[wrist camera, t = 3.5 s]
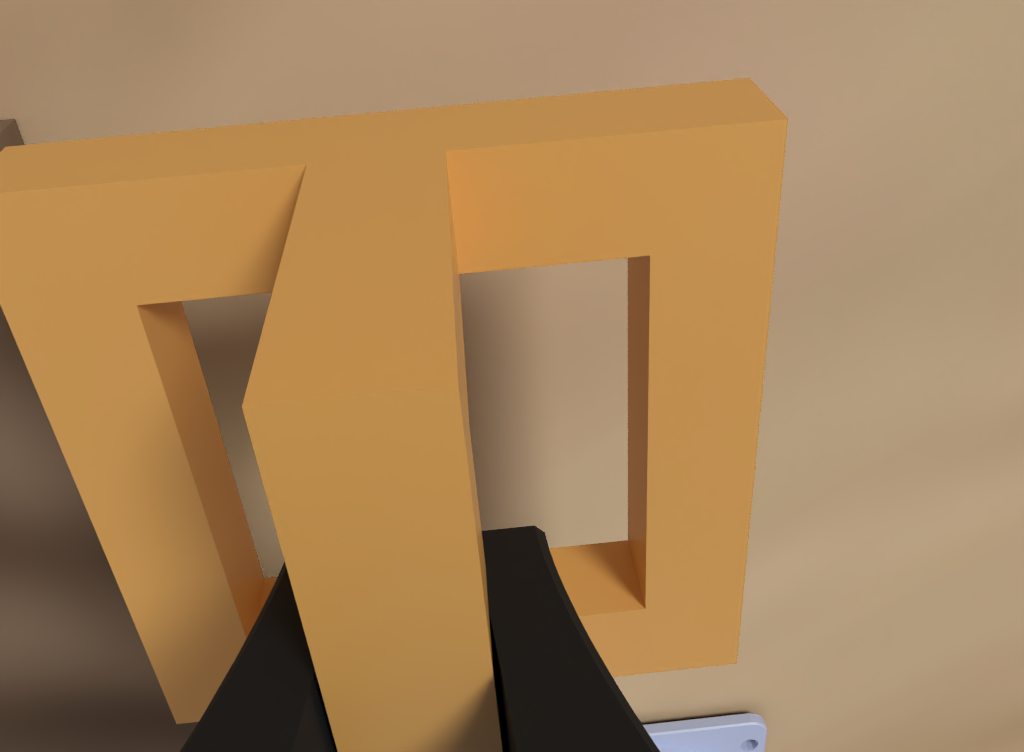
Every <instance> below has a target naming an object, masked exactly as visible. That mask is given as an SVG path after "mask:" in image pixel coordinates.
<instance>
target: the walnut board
mask: <svg viewBox="0 0 1024 752" xmlns="http://www.w3.org/2000/svg"><path fill="white" fill-rule="evenodd" d="M20 145H24V143H23V140H22V137H21V134H20V132H19V129H18V126H17V123H16V121H15V119H9V120H0V152H1V151H2V150H3V149H4V148H5V147H9V146H20ZM197 724H198V722H191V723H182V724H176V721H175V719H174V717H173V714H172V712H171V710H170V707H169V705H168V702H167V700H166V698H165V695H164V693H163V691H162V688H161V686H160V683H159V681H158V679H157V676H156V674H155V671H154V669H153V667H152V664H151V662H150V660H149V657H148V655H147V652H146V650H145V648H144V645H143V643H142V641H141V638H140V636H139V633H138V631H137V629H136V626H135V624H134V622H133V619H132V617H131V614H130V612H129V610H128V607H127V605H126V602H125V600H124V598H123V595H122V593H121V591H120V588H119V586H118V583H117V581H116V579H115V576H114V574H113V572H112V569H111V567H110V564H109V562H108V560H107V557H106V555H105V553H104V550H103V548H102V545H101V543H100V541H99V538H98V536H97V533H96V531H95V529H94V526H93V524H92V522H91V519H90V517H89V514H88V512H87V510H86V507H85V505H84V503H83V500H82V498H81V495H80V493H79V491H78V488H77V486H76V484H75V481H74V479H73V476H72V474H71V472H70V469H69V467H68V464H67V462H66V460H65V457H64V455H63V453H62V450H61V448H60V445H59V443H58V441H57V438H56V436H55V434H54V431H53V429H52V426H51V424H50V422H49V419H48V417H47V415H46V412H45V410H44V407H43V405H42V403H41V400H40V398H39V395H38V393H37V391H36V388H35V386H34V384H33V381H32V379H31V376H30V374H29V372H28V369H27V367H26V365H25V362H24V360H23V357H22V355H21V353H20V350H19V348H18V346H17V343H16V341H15V338H14V336H13V334H12V331H11V329H10V326H9V324H8V322H7V319H6V317H5V315H4V312H3V310H2V307H1V305H0V752H180V750H181V749H182V747H183V746H184V744H185V743H186V741H187V740H188V738H189V737H190V735H191V733H192V732H193V730H194V729H195V727H196V726H197Z"/></svg>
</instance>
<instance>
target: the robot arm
mask: <svg viewBox="0 0 1024 752" xmlns="http://www.w3.org/2000/svg"><path fill="white" fill-rule="evenodd" d="M482 538H483V547H484V555H485V564H486V579H487V595H488V609H489V617H490V626H491V634H492V642H493V651H494V659H495V668H496V676H497V685H498V693H499V701H500V710H501V718H502V727H503V735H504V743H505V752H764V751H765V743H766V735H767V729H766V725H765V722H764V720H763V718H762V717H761V716H760V715H757V714H754V713H744V714H735V715H726V716H717V717H708V718H699V719H690V720H681V721H672V722H663V723H654V724H645V725H642V723H641V722H640V720H639V719H638V717H637V716H636V714H635V713H634V711H633V710H632V708H631V707H630V705H629V703H628V702H627V700H626V699H625V697H624V695H623V694H622V692H621V691H620V689H619V687H618V686H617V684H616V683H615V681H614V679H613V677H612V676H611V674H610V672H609V670H608V669H607V667H606V665H605V663H604V662H603V660H602V658H601V657H600V655H599V653H598V651H597V650H596V648H595V646H594V644H593V643H592V641H591V639H590V637H589V635H588V634H587V632H586V630H585V628H584V626H583V624H582V622H581V620H580V618H579V616H578V614H577V612H576V610H575V608H574V606H573V604H572V602H571V600H570V598H569V596H568V594H567V592H566V590H565V587H564V585H563V583H562V580H561V578H560V576H559V574H558V571H557V569H556V566H555V564H554V561H553V558H552V555H551V552H550V550H549V547H548V543H547V540H546V536H545V532H543V531H542V530H540V529H539V528H537V527H536V526H526V527H517V528H507V529H498V530H488V531H482ZM180 752H338V751H337V747H336V744H335V740H334V737H333V733H332V729H331V726H330V722H329V719H328V715H327V711H326V708H325V704H324V701H323V697H322V694H321V690H320V686H319V683H318V679H317V676H316V672H315V668H314V665H313V661H312V658H311V654H310V650H309V647H308V643H307V640H306V636H305V632H304V629H303V625H302V622H301V618H300V614H299V611H298V607H297V604H296V600H295V596H294V593H293V589H292V586H291V582H290V578H289V575H288V571H287V568H286V564H285V562H284V565H283V567H282V569H281V571H280V573H279V575H278V578H277V580H276V582H275V584H274V586H273V588H272V590H271V592H270V594H269V596H268V598H267V600H266V602H265V604H264V606H263V608H262V610H261V612H260V614H259V616H258V618H257V620H256V622H255V624H254V626H253V627H252V629H251V631H250V633H249V635H248V637H247V639H246V640H245V642H244V644H243V646H242V648H241V650H240V652H239V653H238V655H237V657H236V659H235V661H234V662H233V664H232V666H231V667H230V669H229V671H228V673H227V674H226V676H225V678H224V680H223V681H222V683H221V685H220V687H219V688H218V690H217V692H216V693H215V695H214V697H213V699H212V700H211V702H210V704H209V706H208V707H207V709H206V711H205V712H204V714H203V716H202V717H201V719H200V721H199V722H198V724H197V726H196V727H195V729H194V730H193V732H192V733H191V735H190V737H189V738H188V740H187V741H186V743H185V744H184V746H183V747H182V749H181V750H180Z"/></svg>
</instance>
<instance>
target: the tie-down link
mask: <svg viewBox="0 0 1024 752" xmlns="http://www.w3.org/2000/svg"><path fill="white" fill-rule="evenodd" d="M787 126H788V118H787V117H786V116H785V115H784V114H783V113H782V112H781V111H780V110H779V109H778V108H777V107H776V106H775V105H774V103H773V102H772V101H771V100H770V99H769V98H768V97H767V96H766V95H765V94H764V93H763V92H762V91H761V90H760V89H759V88H758V86H757V85H756V84H755V83H754V82H753V81H752V80H751V79H750V78H744V79H733V80H722V81H712V82H701V83H690V84H679V85H668V86H658V87H647V88H636V89H625V90H614V91H603V92H593V93H582V94H571V95H560V96H549V97H539V98H528V99H517V100H506V101H495V102H485V103H474V104H463V105H452V106H441V107H431V108H420V109H409V110H398V111H387V112H377V113H366V114H355V115H344V116H333V117H323V118H312V119H301V120H290V121H279V122H269V123H258V124H247V125H236V126H225V127H215V128H204V129H193V130H182V131H171V132H161V133H150V134H139V135H128V136H117V137H107V138H96V139H85V140H74V141H63V142H53V143H42V144H31V145H20V146H9V147H5V148H4V149H3V150H2V151H1V152H0V305H1V307H2V310H3V312H4V315H5V317H6V319H7V322H8V324H9V326H10V329H11V331H12V334H13V336H14V338H15V341H16V343H17V346H18V348H19V350H20V353H21V355H22V357H23V360H24V362H25V365H26V367H27V369H28V372H29V374H30V376H31V379H32V381H33V384H34V386H35V388H36V391H37V393H38V395H39V398H40V400H41V403H42V405H43V407H44V410H45V412H46V415H47V417H48V419H49V422H50V424H51V426H52V429H53V431H54V434H55V436H56V438H57V441H58V443H59V445H60V448H61V450H62V453H63V455H64V457H65V460H66V462H67V464H68V467H69V469H70V472H71V474H72V476H73V479H74V481H75V484H76V486H77V488H78V491H79V493H80V495H81V498H82V500H83V503H84V505H85V507H86V510H87V512H88V514H89V517H90V519H91V522H92V524H93V526H94V529H95V531H96V533H97V536H98V538H99V541H100V543H101V545H102V548H103V550H104V553H105V555H106V557H107V560H108V562H109V564H110V567H111V569H112V572H113V574H114V576H115V579H116V581H117V583H118V586H119V588H120V591H121V593H122V595H123V598H124V600H125V602H126V605H127V607H128V610H129V612H130V614H131V617H132V619H133V622H134V624H135V626H136V629H137V631H138V633H139V636H140V638H141V641H142V643H143V645H144V648H145V650H146V652H147V655H148V657H149V660H150V662H151V664H152V667H153V669H154V671H155V674H156V676H157V679H158V681H159V683H160V686H161V688H162V691H163V693H164V695H165V698H166V700H167V702H168V705H169V707H170V710H171V712H172V714H173V717H174V719H175V721H176V724H182V723H191V722H199V721H200V719H201V717H202V716H203V714H204V712H205V711H206V709H207V707H208V706H209V704H210V702H211V700H212V699H213V697H214V695H215V693H216V692H217V690H218V688H219V687H220V685H221V683H222V681H223V680H224V678H225V676H226V674H227V673H228V671H229V669H230V667H231V666H232V664H233V662H234V661H235V659H236V657H237V655H238V653H239V652H240V650H241V648H242V646H243V644H244V642H245V640H246V639H247V637H248V635H249V633H250V631H251V629H252V627H253V626H254V624H255V622H256V620H257V618H258V616H259V614H260V612H261V610H262V608H263V606H264V604H265V602H266V600H267V598H268V596H269V594H270V592H271V590H272V588H273V586H274V584H275V582H276V580H277V578H278V577H273V578H264V577H263V573H262V570H261V567H260V563H259V560H258V557H257V553H256V550H255V547H254V543H253V540H252V537H251V533H250V530H249V526H248V523H247V520H246V516H245V513H244V510H243V506H242V503H241V500H240V496H239V493H238V490H237V486H236V483H235V480H234V476H233V473H232V470H231V466H230V463H229V460H228V456H227V453H226V449H225V446H224V443H223V439H222V436H221V433H220V429H219V426H218V423H217V419H216V416H215V413H214V409H213V406H212V403H211V399H210V396H209V393H208V389H207V386H206V383H205V379H204V376H203V373H202V369H201V366H200V362H199V359H198V356H197V352H196V349H195V346H194V342H193V339H192V336H191V332H190V329H189V326H188V322H187V319H186V316H185V312H184V309H183V306H182V302H181V301H186V300H197V299H207V298H217V297H228V296H238V295H248V294H258V293H269V292H272V296H271V300H270V303H269V307H268V311H267V314H266V318H265V322H264V326H263V329H262V333H261V337H260V341H259V344H258V348H257V352H256V356H255V359H254V363H253V367H252V371H251V374H250V378H249V382H248V386H247V389H246V393H245V397H244V400H243V404H242V409H243V413H244V416H245V420H246V424H247V427H248V431H249V434H250V438H251V442H252V445H253V449H254V452H255V456H256V460H257V463H258V467H259V470H260V474H261V478H262V481H263V485H264V488H265V492H266V496H267V499H268V503H269V506H270V510H271V514H272V517H273V521H274V524H275V528H276V532H277V535H278V539H279V542H280V546H281V550H282V553H283V557H284V560H285V564H286V568H287V571H288V575H289V578H290V582H291V586H292V589H293V593H294V596H295V600H296V604H297V607H298V611H299V614H300V618H301V622H302V625H303V629H304V632H305V636H306V640H307V643H308V647H309V650H310V654H311V658H312V661H313V665H314V668H315V672H316V676H317V679H318V683H319V686H320V690H321V694H322V697H323V701H324V704H325V708H326V711H327V715H328V719H329V722H330V726H331V729H332V733H333V737H334V740H335V744H336V747H337V751H338V752H505V743H504V735H503V727H502V718H501V710H500V701H499V693H498V685H497V676H496V668H495V659H494V651H493V642H492V634H491V626H490V617H489V609H488V595H487V579H486V564H485V555H484V547H483V538H482V530H481V521H480V512H479V504H478V495H477V487H476V478H475V470H474V461H473V452H472V444H471V435H470V426H469V411H468V396H467V381H466V366H465V352H464V337H463V322H462V307H461V292H460V278H459V274H464V273H475V272H485V271H495V270H506V269H516V268H526V267H537V266H547V265H557V264H567V263H578V262H588V261H598V260H609V259H619V258H628V540H627V541H617V542H608V543H598V544H588V545H579V546H569V547H560V548H550V549H549V550H550V552H551V555H552V558H553V561H554V564H555V566H556V569H557V571H558V574H559V576H560V578H561V580H562V583H563V585H564V587H565V590H566V592H567V594H568V596H569V598H570V600H571V602H572V604H573V606H574V608H575V610H576V612H577V614H578V616H579V618H580V620H581V622H582V624H583V626H584V628H585V630H586V632H587V634H588V635H589V637H590V639H591V641H592V643H593V644H594V646H595V648H596V650H597V651H598V653H599V655H600V657H601V658H602V660H603V662H604V663H605V665H606V667H607V669H608V670H609V672H610V674H611V676H612V677H616V676H625V675H634V674H644V673H653V672H662V671H671V670H681V669H690V668H699V667H708V666H718V665H727V664H736V663H737V656H738V646H739V635H740V625H741V614H742V603H743V593H744V582H745V571H746V561H747V550H748V540H749V529H750V518H751V508H752V497H753V487H754V476H755V465H756V455H757V444H758V433H759V423H760V412H761V402H762V391H763V380H764V370H765V359H766V349H767V338H768V327H769V317H770V306H771V295H772V285H773V274H774V264H775V253H776V242H777V232H778V221H779V211H780V200H781V189H782V179H783V168H784V157H785V147H786V136H787Z"/></svg>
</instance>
